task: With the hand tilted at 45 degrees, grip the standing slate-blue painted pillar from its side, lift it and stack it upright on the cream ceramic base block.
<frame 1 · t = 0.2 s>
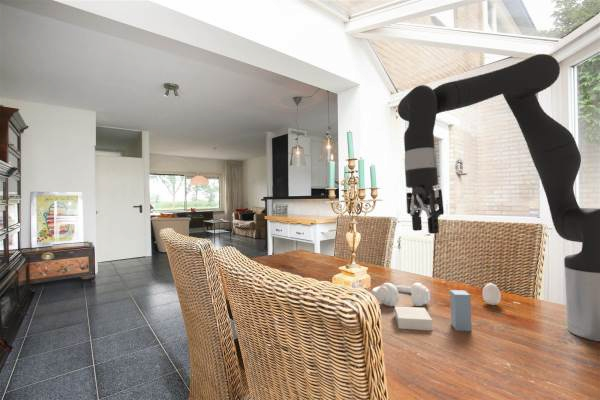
hand: (424, 231, 70), 29 cm above the table, tool pointing down, fingers open, 8 cm apart
base: (412, 322, 83), on the table
headphones: (399, 300, 104), on the table
egg: (491, 305, 95), on the table
pillar: (461, 327, 79), on the table
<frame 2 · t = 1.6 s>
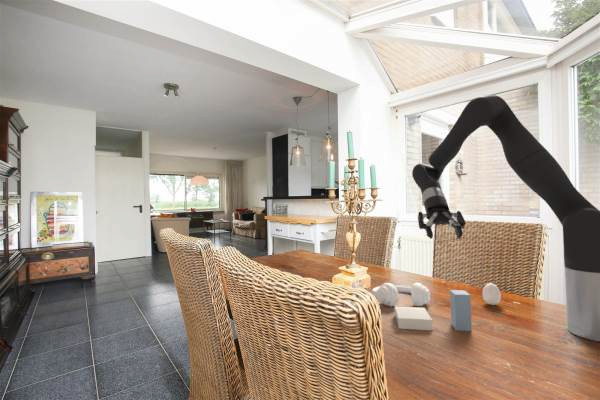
hand: (445, 237, 91), 24 cm above the table, tool tilted 45°, fingers open, 8 cm apart
nothing on the table moved.
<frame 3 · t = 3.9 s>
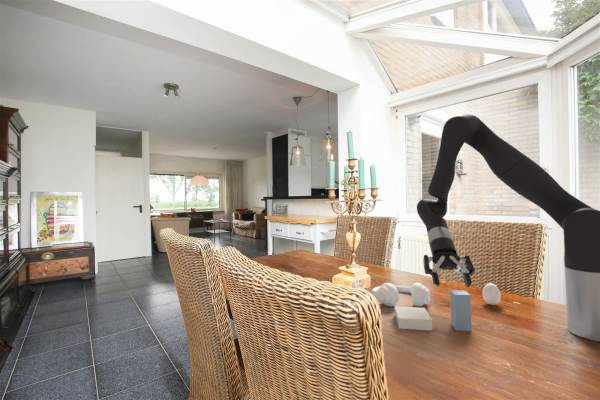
hand: (453, 285, 85), 10 cm above the table, tool tilted 45°, fingers open, 8 cm apart
nothing on the table moved.
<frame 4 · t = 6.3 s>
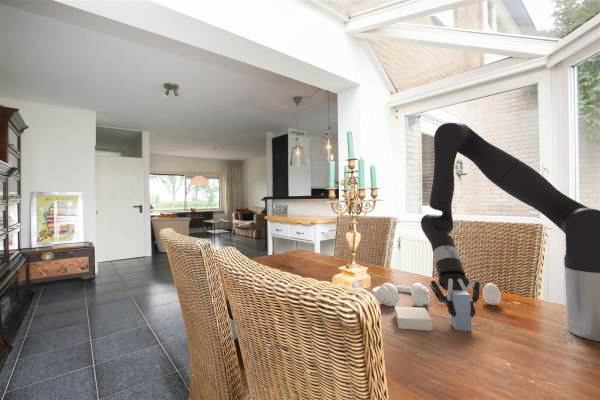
hand: (463, 315, 77), 4 cm above the table, tool tilted 45°, fingers closed on pillar, 4 cm apart
pillar: (461, 327, 79), on the table, touching gripper
everything else where it was.
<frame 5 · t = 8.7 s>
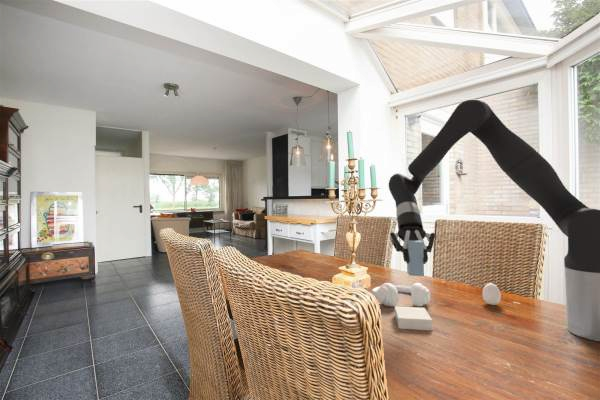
hand: (416, 262, 81), 19 cm above the table, tool tilted 45°, fingers closed on pillar, 4 cm apart
pillar: (415, 274, 83), point 15 cm above the table, touching gripper
everything else where it was.
when the fingers open (8 cm above the table, at t = 11.1 s): pillar drops 1 cm, resting on base.
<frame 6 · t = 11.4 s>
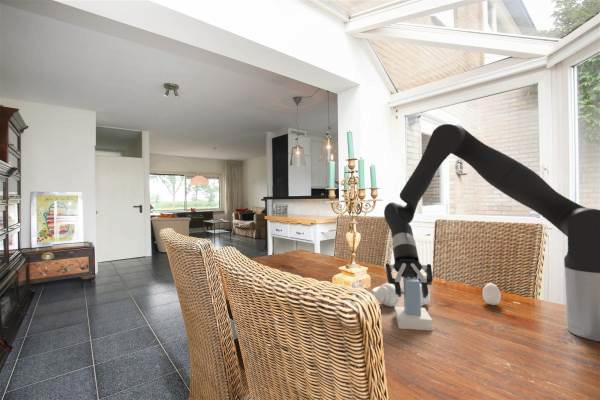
hand: (412, 296, 82), 9 cm above the table, tool tilted 45°, fingers open, 6 cm apart
pillar: (412, 312, 83), point 3 cm above the table, touching base
everything else where it was.
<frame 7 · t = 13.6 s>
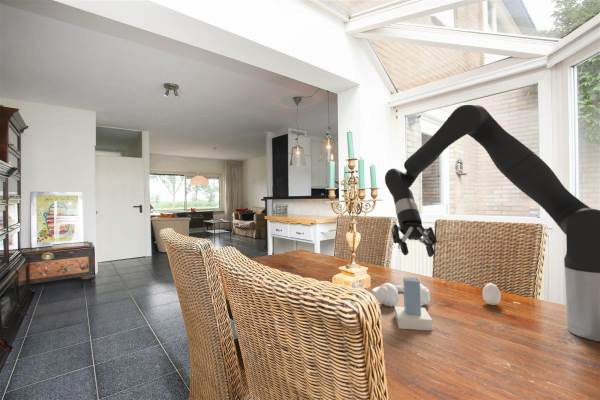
hand: (418, 255, 90), 19 cm above the table, tool tilted 35°, fingers open, 8 cm apart
nothing on the table moved.
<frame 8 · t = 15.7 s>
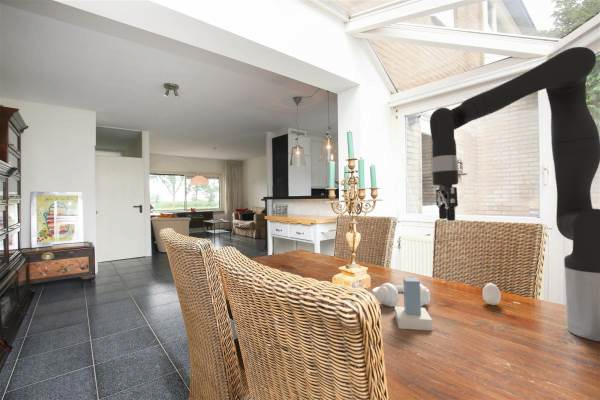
hand: (446, 219, 91), 30 cm above the table, tool pointing down, fingers open, 8 cm apart
nothing on the table moved.
at the end: pillar inside the target area on the base (0.1 cm from its centre), point 3.0 cm above the base's base; pillar tilted 0°; the gripper is holding nothing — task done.
